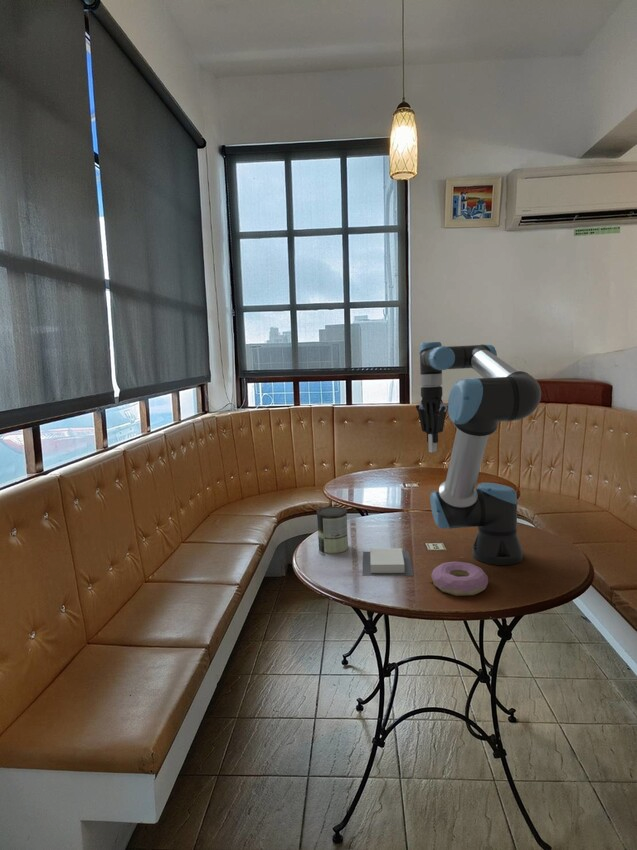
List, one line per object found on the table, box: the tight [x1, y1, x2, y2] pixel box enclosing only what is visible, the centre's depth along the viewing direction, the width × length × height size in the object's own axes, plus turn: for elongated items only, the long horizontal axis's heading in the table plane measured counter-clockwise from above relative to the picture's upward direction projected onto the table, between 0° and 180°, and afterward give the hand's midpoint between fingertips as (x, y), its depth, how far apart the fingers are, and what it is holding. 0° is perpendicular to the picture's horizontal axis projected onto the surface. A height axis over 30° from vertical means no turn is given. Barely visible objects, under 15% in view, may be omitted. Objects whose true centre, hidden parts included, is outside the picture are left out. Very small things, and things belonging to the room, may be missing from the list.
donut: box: [430, 561, 489, 597], centre depth 142 cm, size 16×15×5 cm
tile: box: [369, 547, 405, 573], centre depth 157 cm, size 10×3×13 cm
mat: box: [361, 550, 415, 577], centre depth 158 cm, size 15×19×1 cm
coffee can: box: [316, 506, 349, 556], centre depth 172 cm, size 10×10×14 cm
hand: (432, 451), depth 182 cm, fingers closed
